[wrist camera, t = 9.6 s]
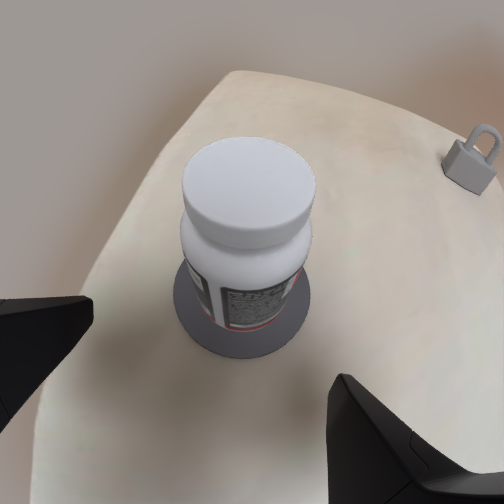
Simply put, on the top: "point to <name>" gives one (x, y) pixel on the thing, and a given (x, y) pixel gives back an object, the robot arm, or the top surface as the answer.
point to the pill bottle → (246, 228)
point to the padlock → (472, 161)
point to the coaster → (234, 341)
